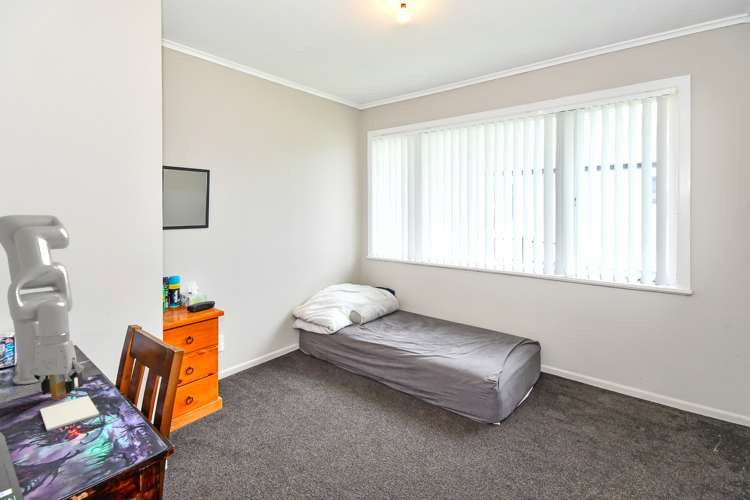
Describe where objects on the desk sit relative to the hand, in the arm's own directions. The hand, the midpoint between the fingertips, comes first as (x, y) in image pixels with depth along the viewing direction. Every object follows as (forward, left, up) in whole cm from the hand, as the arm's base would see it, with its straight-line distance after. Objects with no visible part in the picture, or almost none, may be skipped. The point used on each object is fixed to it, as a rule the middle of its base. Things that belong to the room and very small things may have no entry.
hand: (58, 391), depth 124 cm
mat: (+11, +9, -2) cm, 15 cm away
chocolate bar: (-14, -6, -3) cm, 16 cm away
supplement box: (0, 0, -2) cm, 2 cm away
